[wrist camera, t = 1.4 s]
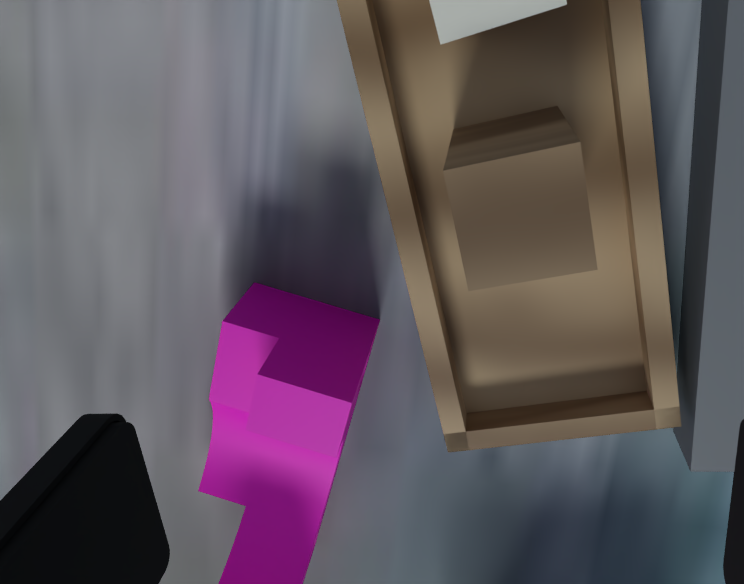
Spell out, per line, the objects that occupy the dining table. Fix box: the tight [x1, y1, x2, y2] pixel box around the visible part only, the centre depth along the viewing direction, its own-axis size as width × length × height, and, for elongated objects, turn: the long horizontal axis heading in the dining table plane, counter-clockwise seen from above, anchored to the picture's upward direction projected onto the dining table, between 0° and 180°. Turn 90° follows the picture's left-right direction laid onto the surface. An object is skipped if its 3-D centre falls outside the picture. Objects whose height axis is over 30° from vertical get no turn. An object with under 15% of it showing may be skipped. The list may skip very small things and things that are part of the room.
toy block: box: [198, 282, 380, 584], centre depth 32 cm, size 15×6×8 cm, turn 166°
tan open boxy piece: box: [337, 0, 681, 452], centre depth 25 cm, size 24×10×9 cm, turn 14°
